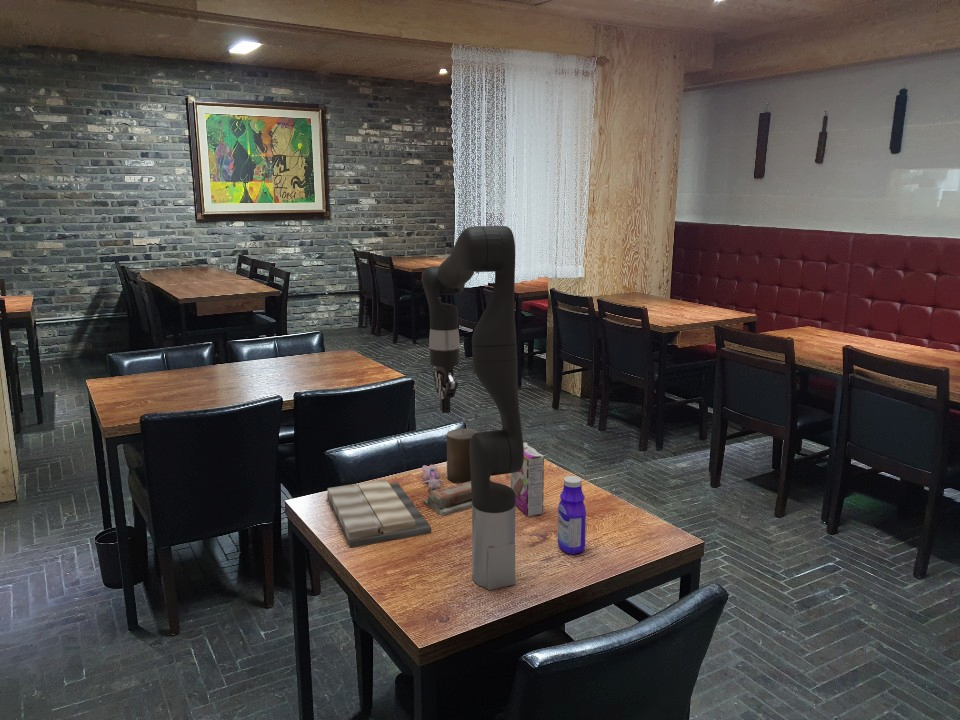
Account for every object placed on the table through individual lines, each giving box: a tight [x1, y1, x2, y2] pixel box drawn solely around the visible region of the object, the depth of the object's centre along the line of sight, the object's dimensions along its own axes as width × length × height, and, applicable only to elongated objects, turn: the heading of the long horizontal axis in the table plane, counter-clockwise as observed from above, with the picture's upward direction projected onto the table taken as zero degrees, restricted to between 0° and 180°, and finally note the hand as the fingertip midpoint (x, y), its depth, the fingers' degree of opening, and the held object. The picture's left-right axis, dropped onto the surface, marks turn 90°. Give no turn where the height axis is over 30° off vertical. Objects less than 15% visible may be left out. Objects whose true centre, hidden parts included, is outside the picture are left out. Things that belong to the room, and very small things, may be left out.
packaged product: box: [422, 481, 472, 517], centre depth 189 cm, size 18×5×10 cm
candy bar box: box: [510, 442, 545, 518], centre depth 184 cm, size 11×5×16 cm, turn 22°
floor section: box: [326, 482, 432, 549], centre depth 181 cm, size 30×20×4 cm, turn 22°
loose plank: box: [357, 478, 415, 534], centre depth 182 cm, size 28×9×2 cm, turn 22°
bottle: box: [557, 475, 587, 555], centre depth 162 cm, size 7×6×17 cm
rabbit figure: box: [421, 464, 445, 492], centre depth 201 cm, size 6×6×15 cm
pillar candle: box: [446, 428, 479, 484], centre depth 204 cm, size 10×10×15 cm
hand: (445, 412), depth 178 cm, fingers closed
